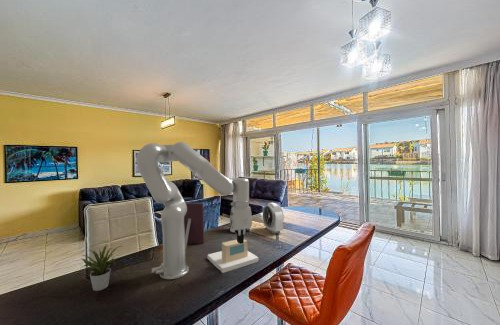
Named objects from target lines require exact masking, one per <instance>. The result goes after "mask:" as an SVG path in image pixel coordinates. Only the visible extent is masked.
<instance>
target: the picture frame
mask: <svg viewBox="0 0 500 325" xmlns="http://www.w3.org/2000/svg"><path fill="white" fill-rule="evenodd" d="M185 203H186V206H187V212H186V215H185V216H184V229H185V250H186V249H187V247H188V244H197V245H198V244H199V245H202V244H203V245H204V244H205V225H204V224H205V221H204V203H203V202H185Z"/></svg>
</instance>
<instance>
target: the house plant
mask: <svg viewBox="0 0 500 325" xmlns="http://www.w3.org/2000/svg"><path fill="white" fill-rule="evenodd" d="M107 246H108V244H106V245H104V247H103V248H102V251H101V249H100V248H98V249H99V254H98V253H97V251H95V250H92V249H88V252H90V253H92V254H93V255H94V257H95V259H93V258H91V257H90V256H88V255H85V254H81V256H83V257H86V258H87V259H86V258H81V260H82V261H83V262H84V264H85V265H83V267H87V269H92V270H90V272H89V276H90V278H89V279H90V282H91V287H92V291H95V292H98V291H102V290H104V289H107V287H109V282H110V276H111V271H112V269H111V267H110V266H111V265H113V264H115V263H116V262H115V260H117V259H116V258H111V257H112V256H113V254H115V253H116V250H117V249H119V248H120V247H122V245H120V246H117V247H115V248H111V247H110V248H109V249H107ZM112 249H113V250H112ZM106 250H107V251H106ZM110 250H112V251H111V252H110ZM105 253H106V254H105ZM110 258H111V259H110ZM109 259H110V260H109Z"/></svg>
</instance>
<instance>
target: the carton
mask: <svg viewBox="0 0 500 325" xmlns="http://www.w3.org/2000/svg"><path fill="white" fill-rule="evenodd" d="M248 249H249V248H248V240H247V239H245V238H244V243H242V244H240V243H238V242H237V239H233V240H228V241H224V242H221V251H222V260H224V261H225V262H226V263H228V262H231V261H235V260H238V259H241V258H245V257H248V251H249V250H248Z"/></svg>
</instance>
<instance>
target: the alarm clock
mask: <svg viewBox="0 0 500 325" xmlns="http://www.w3.org/2000/svg"><path fill="white" fill-rule="evenodd" d="M262 218H263V226H264V227H265V230H266V231H268V232H269V233H271V234H274V235H275V234H280V233H281V232H282V231H283V230H284V229H283V228H284V218H285V216H284V211H283V208H282V207H281V206H280V205H279V204H278V203H275V202H269V203H267V205H264V207H263V209H262Z"/></svg>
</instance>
